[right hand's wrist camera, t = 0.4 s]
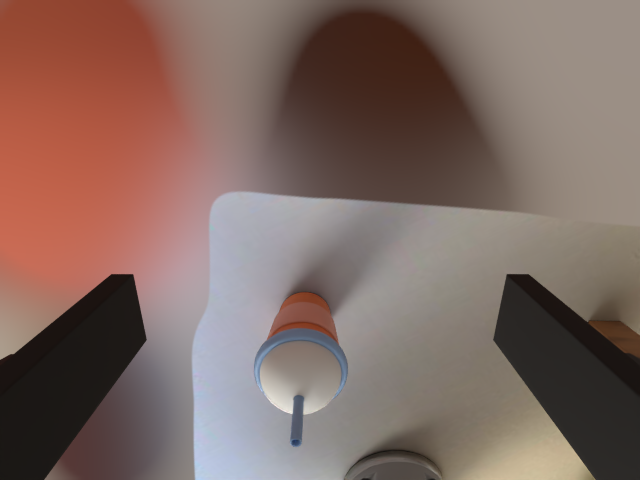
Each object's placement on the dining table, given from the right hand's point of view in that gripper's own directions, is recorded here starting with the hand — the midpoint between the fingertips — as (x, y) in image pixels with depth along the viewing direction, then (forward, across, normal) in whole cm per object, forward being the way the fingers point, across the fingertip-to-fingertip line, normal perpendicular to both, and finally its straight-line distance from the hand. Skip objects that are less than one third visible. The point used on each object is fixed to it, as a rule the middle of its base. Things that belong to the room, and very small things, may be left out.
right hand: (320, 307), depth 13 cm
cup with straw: (+27, +2, +17) cm, 32 cm away
